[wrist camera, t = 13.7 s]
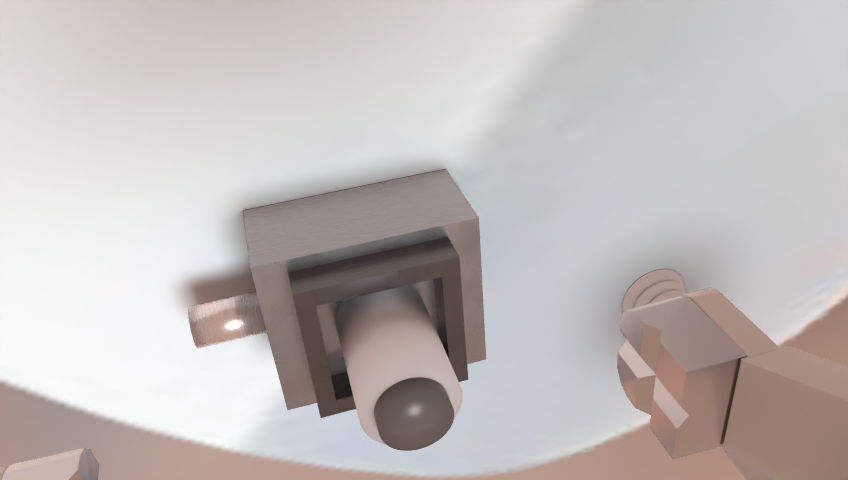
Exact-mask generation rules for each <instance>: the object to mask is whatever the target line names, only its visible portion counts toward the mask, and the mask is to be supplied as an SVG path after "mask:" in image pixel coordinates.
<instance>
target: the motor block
mask: <svg viewBox="0 0 848 480" xmlns="http://www.w3.org/2000/svg"><path fill="white" fill-rule="evenodd" d="M243 215H244V223H245V232H246V240H247V248H248V256H249V264H250V270H251V273H252V277H253V281H254V285H255V289H256V292H251V293H247V294H243V295H238V296H234V297H229V298H225V299H220V300H216V301H212V302H207V303H203V304H198V305H194V306H189V308H188V316H189V323H190V328H191V332H192V336H193V340H194V342H195V345H196V347H197V348H198V349H199V348H203V347H207V346H211V345H215V344H220V343H224V342H228V341H232V340H237V339H241V338H245V337H249V336H254V335H258V334H262V333H266V332H267V334H268V338H269V341H270V345H271V349H272V353H273V357H274V360H275V364H276V368H277V372H278V375H279V379H280V383H281V387H282V391H283V394H284V398H285V402H286V406H287V409H288V410H290V409H294V408H298V407H302V406H306V405H310V404H313V403H318V408H319V412H320V416H321V418H322V417H326V416H330V415H334V414H338V413H341V412H345V411H349V410H353V409H356V405H355V401H354V397H353V393H352V389H351V385H350V381H349V377H348V373H347V369H346V365H345V361H344V357H343V353H342V349H341V345H340V341H339V337H338V333H337V329H336V316H337V313H338V310H339V308H340V306H341V304H342V303H343V301H344V300H345V299H350V298H354V297H358V296H363V295H367V294H371V293H375V292H380V291H384V290H388V289H393V288H397V287H401V286H406V285H410V286H411V287H413V288H414V289H415V290H416V291H417V292H418V293H419V294H420V296H421V297H422V299H423V301H424V304H425V306H426V308H427V311H428V313H429V315H430V317H431V320H432V322H433V324H434V327H435V329H436V331H437V333H438V336H439V338H440V340H441V343H442V345H443V347H444V350H445V352H446V354H447V356H448V359H449V361H450V363H451V366H452V368H453V370H454V372H455V375H456V377H457V379H458V382H460V381H464V380H468V370H467V364H469V363H473V362H477V361H481V360H485V359H486V350H485V330H484V310H483V291H482V271H481V251H480V232H479V217H478V216H477V214H476V213H475V211H474V210H473V208H472V207H471V205H470V204H469V202H468V201H467V200H466V198H465V197H464V195H463V194H462V192H461V191H460V189H459V188H458V186H457V185H456V183H455V182H454V180H453V179H452V177H451V176H450V174H449V173H448V171H447V170H446V169H443V170H439V171H434V172H429V173H424V174H419V175H414V176H409V177H404V178H400V179H395V180H390V181H385V182H380V183H375V184H370V185H365V186H360V187H356V188H351V189H346V190H341V191H336V192H331V193H326V194H321V195H317V196H312V197H307V198H302V199H297V200H292V201H287V202H282V203H277V204H273V205H268V206H263V207H258V208H253V209H248V210H243Z"/></svg>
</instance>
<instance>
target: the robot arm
mask: <svg viewBox="0 0 848 480" xmlns="http://www.w3.org/2000/svg"><path fill="white" fill-rule="evenodd" d="M620 332H621V333H622V334H623V335H624V337H625V338H626V339H627V340H626V342H625V343H624V344H623V346H622V347H621V348H620V350H619V351H618V363H617V369H618V373H619V377H620V381H621V385H622V387H623V389H624V391H625V393H626V395H627V397H628V398H629V400H630V401H631V403H632V404H633V405H634V407H635V408H637V409H639V410H641V411H643V412H645V413H648V414H650V415H651V421H650V429H651V430H652V432H653V433H654V434H655V436H656V437H657V438H658V440H659V441H660V443H661V444H662V445H663V447H664V448H665V449H666V451H667V452H668V453H669V455H670V456H671V457H672V459H676V458H679V457H683V456H687V455H691V454H695V453H698V452H702V451H706V450H710V449H713V448H717V447H721V446H723V449H724V450H726V451H727V452H729V453H731V454H732V455H734V456H736V457H738V458H739V459H741V460H743V461H744V462H746V463H748V464H750V465H751V466H753V467H755V468H756V469H758V470H760V471H761V472H763V473H765V474H767V475H768V476H770V477H772V478H773V479H775V480H848V367H847V366H844V365H841V364H838V363H835V362H833V361H829V360H827V359H824V358H821V357H818V356H815V355H812V354H810V353H807V352H804V351H801V350H799V349H796V348H793V347H790V346H787V347H783V348H779V347H778V346H777V345H776V344H775V343H774V342H773V341H772V340H771V339H770V338H769V337H768V336H767V335H765V334H764V333H763V332H762V331H761V330H760V329H759V328H758V327H757V326H756V325H755V324H754V323H753V322H751V321H750V320H749V319H748V318H747V317H746V316H745V315H744V314H743V313H742V312H741V311H740V310H739V309H738V308H736V307H735V306H734V305H733V304H732V303H731V302H730V301H729V300H728V299H727V298H726V297H725V296H724V295H722V294H721V293H720V292H719V291H718V290H715V289H713V288H707V289H703V290H700V291H696V292H692V293H688V294H685V295H682V296H681V297H675V298H671V299H667V300H663V301H659V302H656V303H652V304H648V305H644V306H640V307H637V308H633V309H629V310H625V311H624V313H623V315H622V317H621V322H620ZM98 472H99V464H98V462H97V460H96V458H95V456H94V454H93V453H92V451H91V449H86V448H82V449H78V450H73V451H69V452H65V453H60V454H56V455H52V456H47V457H43V458H39V459H34V460H30V461H26V462H21V463H17V464H13V465H10V466H8V467H5V468H0V480H98Z"/></svg>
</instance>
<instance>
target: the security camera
mask: <svg viewBox="0 0 848 480" xmlns="http://www.w3.org/2000/svg"><path fill="white" fill-rule="evenodd" d="M336 329H337V333H338V337H339V341H340V345H341V349H342V353H343V357H344V361H345V365H346V369H347V373H348V377H349V381H350V385H351V389H352V393H353V397H354V401H355V405H356V409H357V413H358V417H359V421H360V424H361V427H362V428H363V430H364V431H365V433H366V434H367V435H368V436H369V437H371V438H372V439H374V440H376V441H378V442H380V443H383V444H386V445H388V446H389V447H392V448H394V449H397V450H405V451H408V450H417V449H421V448H424V447H427V446H429V445H431V444H433V443H435V442H436V441H438V440H439V439H441V438H442V437H443V436H444V435H445V434H446V433H447V432H448V430H449V429H450V427H451V425H452V423H453V420H454V418H455V417H456V415H457V414H458V411H459V409H460V407H461V403H462V389H461V386H460V384H459V382H458V379H457V377H456V375H455V372H454V370H453V368H452V366H451V363H450V361H449V359H448V356H447V354H446V352H445V350H444V347H443V345H442V343H441V340H440V338H439V336H438V333H437V331H436V329H435V327H434V324H433V322H432V320H431V317H430V315H429V313H428V311H427V308H426V306H425V304H424V301H423V299H422V297H421V296H420V294H419V293H418V292H417V291H416V290H415V289H414V288H413V287H411V286H410V285H406V286H401V287H397V288H393V289H388V290H384V291H380V292H375V293H371V294H367V295H363V296H358V297H354V298H350V299H345V300H344V301H343V303H342V304H341V306H340V308H339V310H338V313H337V316H336Z"/></svg>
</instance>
